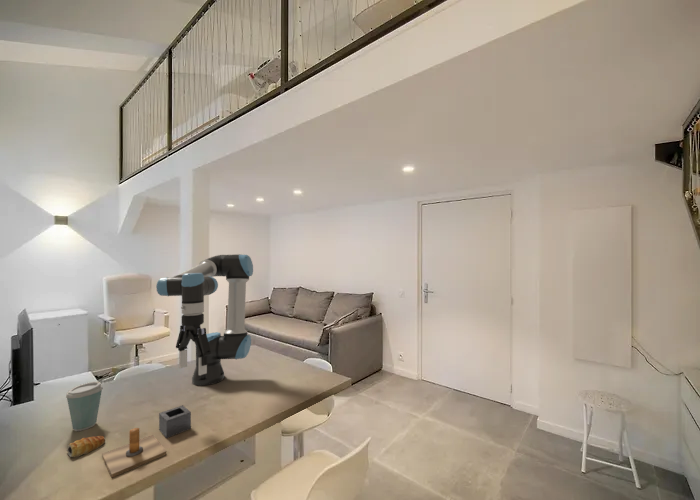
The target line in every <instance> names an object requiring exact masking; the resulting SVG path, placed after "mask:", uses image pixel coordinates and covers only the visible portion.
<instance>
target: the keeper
mask: <svg viewBox="0 0 700 500" xmlns="http://www.w3.org/2000/svg"><path fill="white" fill-rule="evenodd" d="M128 434H129V436H128V437H129V441H128V443H127V444H124V445H121V446H119V447H117V448H114V449H112V450H109V451H106V452H103V453H102V454H101V457H102V460H103V462H104V465H105V466H106V469H107V470H108V473H109V475H110V477H111V478H115V477H117V476H120V475H122V474H124V473H126V472H129V471H131V470H133V469H136V468H138V467H141V466H142V465H145V464H148V463H149V462H152V461H155V460H156V459H159V458H161V457H164V456H166V455H167V450H166V448H165V447H164V446H163V445H162V444H161V443H160V441H159V440H158V439H157V438H156V436H155V435H154V434H150V435H147V436H145V437H142V438H140V427H135V428H132V429H129V433H128Z"/></svg>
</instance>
